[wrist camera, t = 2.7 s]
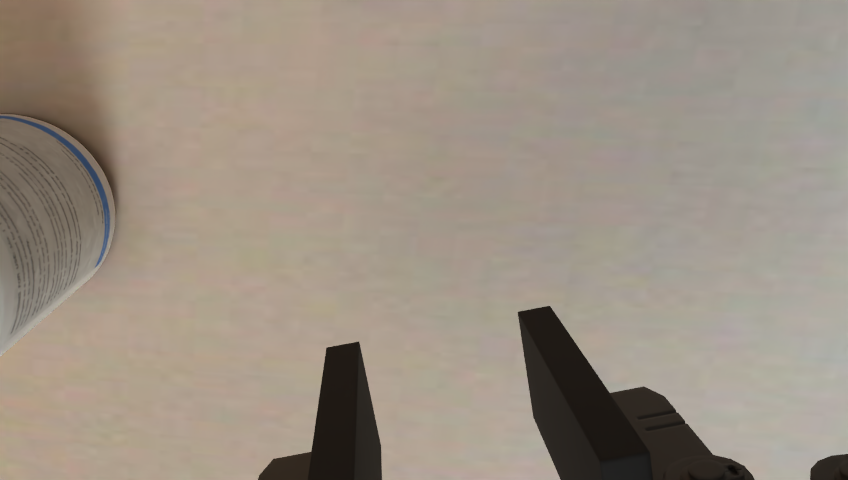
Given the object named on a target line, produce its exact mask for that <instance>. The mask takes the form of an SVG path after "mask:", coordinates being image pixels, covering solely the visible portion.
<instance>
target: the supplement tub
mask: <svg viewBox="0 0 848 480" xmlns="http://www.w3.org/2000/svg"><path fill="white" fill-rule="evenodd" d="M114 228H115V205H114V199H113V195H112V191H111V188H110V186H109V183H108V181H107V178H106V176H105V174H104V172H103V170H102V169H101V167H100V166H99V164H98V163H97V162H96V160H95V159H94V157H93V156H92V155H91V154H90V153H89V152H88V151H87V149H86V148H85V147H84V146H83V145H82V144H80V143H79V142H78V141H77V140H76V139H74V138H73V137H72V136H70V135H69V134H67V133H66V132H64V131H62V130H61V129H59V128H57V127H55V126H53V125H51V124H49V123H46V122H44V121H41V120H37V119H34V118H30V117H26V116H21V115H13V114H0V356H1V355H3V354H4V353H5V352H6V351H7V350H8V349H10V348H11V347H12V346H13V345H14V344H15V343H16V342H18V341H19V340H20V339H21V338H22V337H23V336H25V335H26V334H27V333H28V332H29V331H30V330H31V329H33V328H34V327H35V326H36V325H37V324H38V323H40V322H41V321H42V320H43V319H44V318H45V317H47V316H48V315H49V314H50V313H51V312H52V311H54V310H55V309H56V308H57V307H58V306H59V305H60V304H61V303H63V302H64V301H65V300H66V299H67V298H68V297H69V296H71V295H72V294H73V293H74V292H75V291H76V290H78V289H79V288H80V287H81V286H82V285H83V284H85V283H86V282H87V281H88V280H89V279H90V278H91V277H92V276H93V275H94V274H95V273H96V271H97V270H98V269H99V268H100V266H101V264H102V263H103V261H104V260H105V258H106V256H107V254H108V251H109V249H110V246H111V242H112V239H113V234H114Z"/></svg>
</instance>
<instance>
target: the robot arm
mask: <svg viewBox="0 0 848 480" xmlns="http://www.w3.org/2000/svg"><path fill="white" fill-rule="evenodd" d="M518 317H519V323H520V330H521V337H522V343H523V350H524V357H525V364H526V370H527V377H528V384H529V390H530V397H531V404H532V410H533V417H534V419H535V422H536V424H537V426H538V429H539V431H540V433H541V435H542V438H543V440H544V442H545V445H546V447H547V449H548V451H549V454H550V456H551V458H552V461H553V463H554V465H555V467H556V470H557V472H558V474H559V477H560V479H561V480H754V478H753V476H752V474H751V473H750V472H749V471H748V470H747V469H746V468H745V466H743V465H741V464H739V463H737V462H735V461H733V460H731V459H728V458H724V457H719V456H715V455H713V454H712V453H711V452H710V451H709V449H708V448H707V447H706V446H705V445H704V443H703V442H702V441H701V440H700V439H699V437H698V436H697V435H696V434H695V433H694V431H693V430H692V429H691V428H690V427H689V425H688V424H685V421H684V419H683V418H682V417H681V416H680V415H679V413H676V410H675V409H674V407H673V406H672V405H671V404H670V403H669V401H668V400H667V399H666V398H665V397H664V396H662V395H660V394H658V393H656V392H654V391H652V390H650V389H648V388H646V387H640V388H634V389H629V390H624V391H619V392H613V393H609V391H608V390H607V389H606V387H605V386H604V384H603V383H602V381H601V380H600V378H599V377H598V375H597V374H596V373H595V371H594V370H593V368H592V367H591V365H590V364H589V362H588V361H587V359H586V358H585V356H584V355H583V354H582V352H581V351H580V349H579V348H578V346H577V345H576V343H575V342H574V340H573V339H572V338H571V336H570V335H569V333H568V332H567V330H566V329H565V327H564V326H563V324H562V323H561V321H560V320H559V319H558V317H557V316H556V314H555V313H554V311H553V310H552V308H551V307H550V306H547V307H542V308H536V309H531V310H526V311H520V312H518ZM258 480H382V469H381V444H380V439H379V435H378V430H377V425H376V420H375V415H374V411H373V406H372V401H371V396H370V392H369V387H368V382H367V377H366V372H365V368H364V363H363V358H362V353H361V348H360V344H359V342H355V343H349V344H344V345H339V346H333V347H328V348H327V349H326V356H325V363H324V370H323V377H322V384H321V390H320V397H319V404H318V411H317V418H316V425H315V432H314V439H313V446H312V452H308V453H303V454H298V455H292V456H287V457H282V458H277V459H273V460H272V461H271V463H270V464H269V465H268V466H267V467H266V468H265V470H264V471H263V472H262V473H261V474H260V475H259V478H258ZM810 480H848V454H844V455H835V456H830V457H827V458H825V459H822V460H820V461H818V462H817V463H816V464H815V465H814V466H813V467H812V468H811V476H810Z"/></svg>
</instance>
